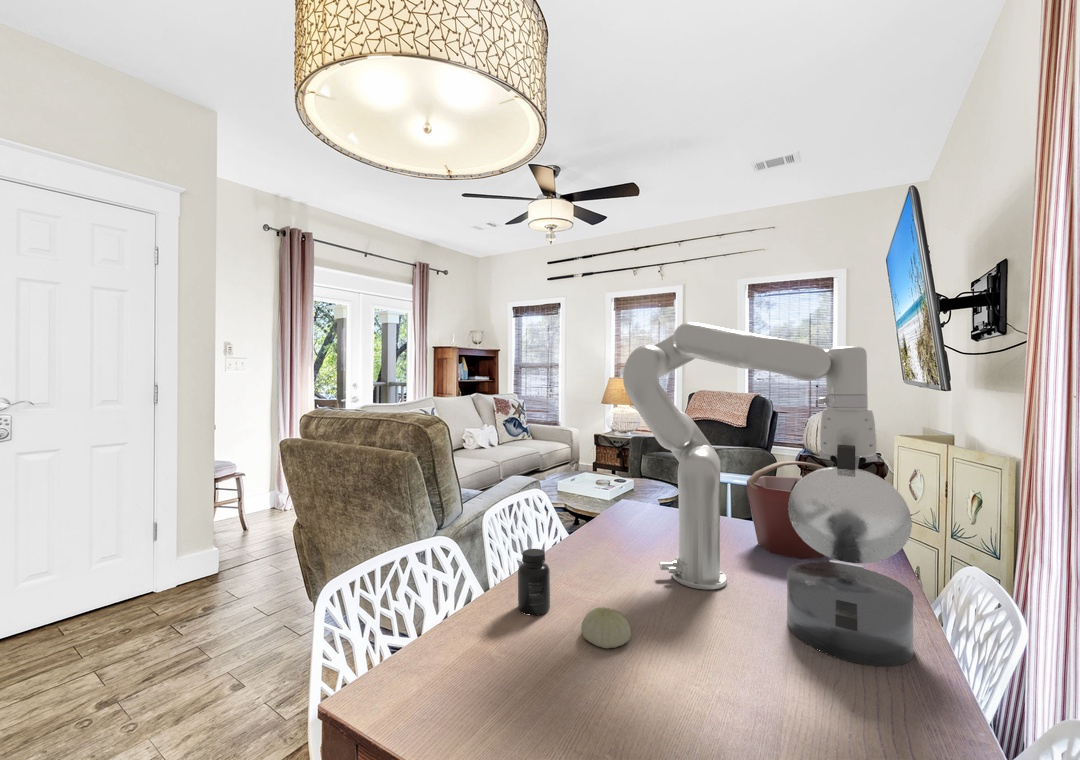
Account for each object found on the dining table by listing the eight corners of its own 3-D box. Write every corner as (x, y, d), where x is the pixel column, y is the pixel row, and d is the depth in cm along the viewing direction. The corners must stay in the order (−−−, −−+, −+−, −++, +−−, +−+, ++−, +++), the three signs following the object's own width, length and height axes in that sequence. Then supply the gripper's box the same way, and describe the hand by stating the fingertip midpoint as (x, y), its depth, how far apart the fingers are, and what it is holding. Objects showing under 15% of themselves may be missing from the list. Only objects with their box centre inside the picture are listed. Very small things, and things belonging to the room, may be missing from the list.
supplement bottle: (555, 604, 101) (555, 549, 101) (542, 619, 95) (541, 560, 95) (526, 598, 104) (526, 544, 104) (512, 612, 97) (512, 555, 97)
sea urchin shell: (603, 649, 81) (585, 603, 86) (585, 664, 86) (569, 619, 91) (644, 635, 85) (624, 592, 90) (625, 650, 90) (607, 609, 95)
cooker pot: (925, 701, 70) (925, 634, 70) (777, 657, 81) (777, 600, 81) (906, 623, 93) (906, 573, 93) (792, 598, 104) (792, 553, 104)
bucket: (824, 539, 142) (824, 457, 142) (858, 567, 121) (857, 471, 121) (738, 533, 147) (738, 454, 147) (756, 560, 126) (756, 467, 126)
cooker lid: (914, 452, 86) (912, 447, 88) (786, 444, 97) (787, 439, 99) (910, 573, 91) (908, 566, 93) (789, 552, 103) (790, 546, 105)
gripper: (806, 403, 103) (807, 486, 103) (890, 404, 95) (892, 494, 95) (808, 401, 110) (810, 480, 109) (887, 402, 101) (889, 487, 101)
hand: (848, 486), depth 102 cm, fingers closed
